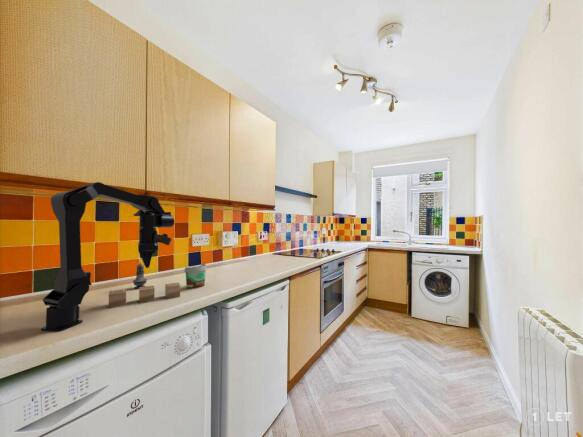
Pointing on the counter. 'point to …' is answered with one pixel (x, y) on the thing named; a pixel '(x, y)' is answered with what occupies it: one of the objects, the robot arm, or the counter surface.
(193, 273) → the food container
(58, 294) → the robot arm
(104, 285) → the counter surface
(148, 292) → the plain walnut block
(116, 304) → the walnut block numbered 7
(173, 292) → the walnut block numbered 1
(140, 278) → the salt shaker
